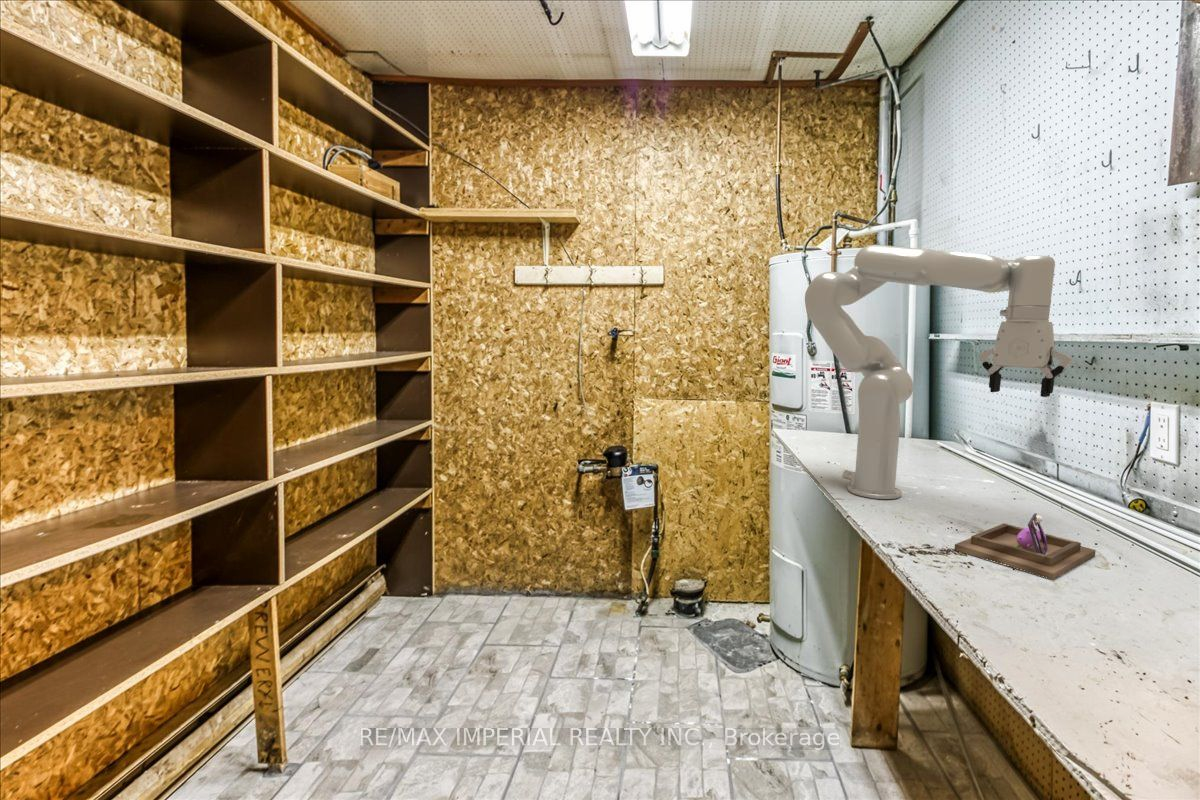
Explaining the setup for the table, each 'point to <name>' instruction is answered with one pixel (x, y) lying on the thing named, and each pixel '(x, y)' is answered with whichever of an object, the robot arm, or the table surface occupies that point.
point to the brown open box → (1026, 551)
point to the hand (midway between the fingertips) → (1019, 394)
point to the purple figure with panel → (1032, 535)
